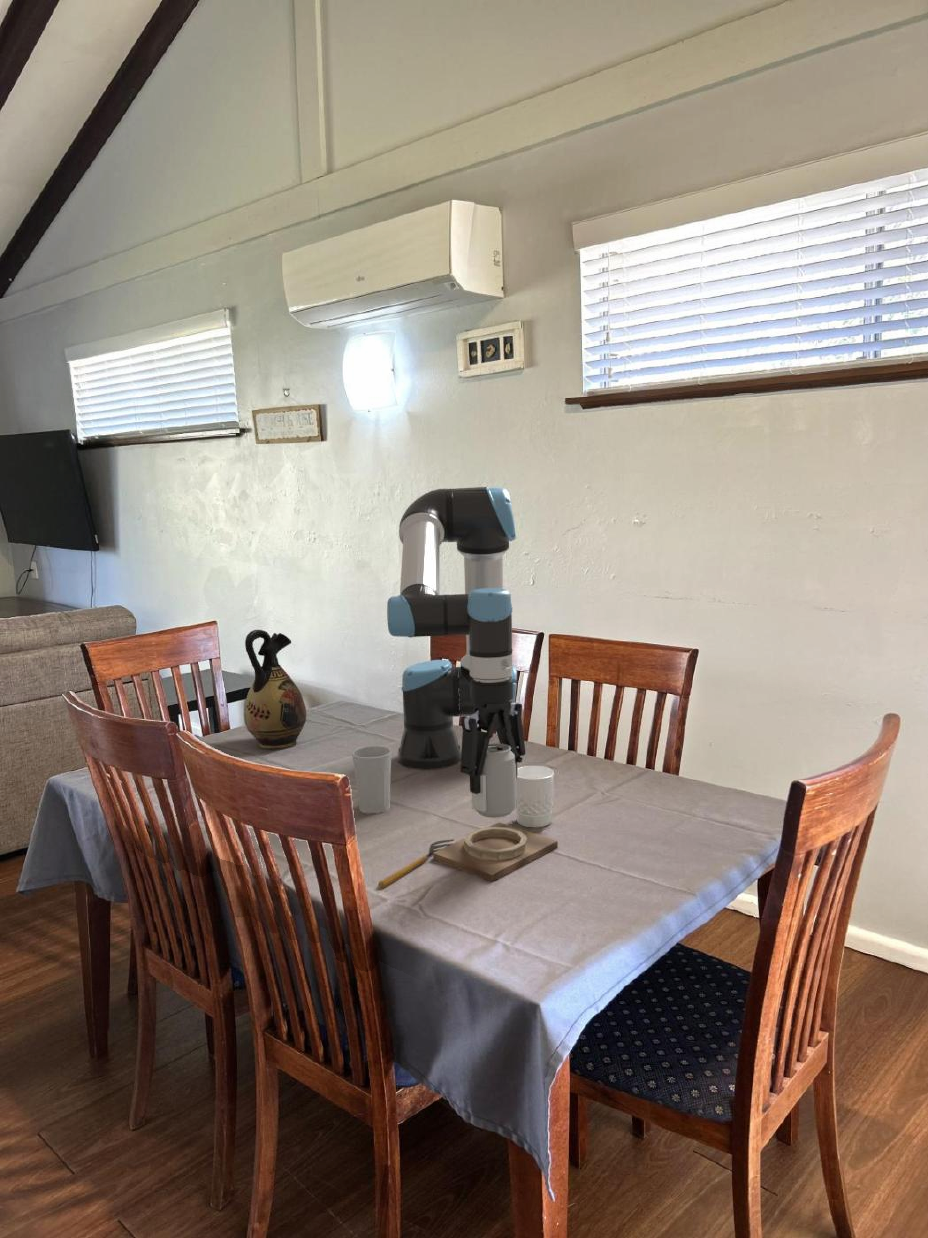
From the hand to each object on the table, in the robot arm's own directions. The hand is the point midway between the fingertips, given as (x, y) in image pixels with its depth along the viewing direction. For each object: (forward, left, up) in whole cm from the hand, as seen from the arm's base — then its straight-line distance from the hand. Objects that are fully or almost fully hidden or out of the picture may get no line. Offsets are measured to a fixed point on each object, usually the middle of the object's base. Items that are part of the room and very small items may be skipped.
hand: (494, 802), depth 164 cm
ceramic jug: (-14, -87, -10) cm, 89 cm away
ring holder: (0, 0, -10) cm, 10 cm away
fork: (+13, -7, -10) cm, 18 cm away
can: (0, 0, -2) cm, 2 cm away
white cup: (-16, -4, -10) cm, 19 cm away
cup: (-1, -34, -10) cm, 36 cm away
